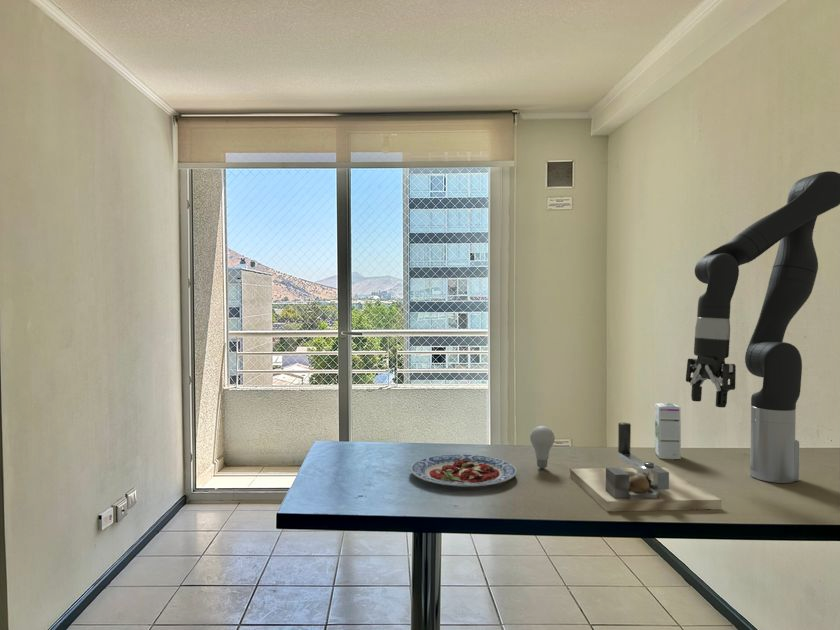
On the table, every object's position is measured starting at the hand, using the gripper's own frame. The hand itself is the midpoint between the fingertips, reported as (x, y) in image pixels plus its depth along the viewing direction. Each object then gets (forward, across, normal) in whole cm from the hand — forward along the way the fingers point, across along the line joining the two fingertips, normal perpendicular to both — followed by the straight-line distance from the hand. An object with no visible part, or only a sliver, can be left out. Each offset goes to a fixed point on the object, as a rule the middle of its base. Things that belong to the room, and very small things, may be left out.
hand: (708, 404), depth 136 cm
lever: (+16, -5, +20) cm, 26 cm away
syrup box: (+18, +20, -4) cm, 27 cm away
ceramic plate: (+22, +12, +57) cm, 62 cm away
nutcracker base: (+19, -6, +21) cm, 29 cm away
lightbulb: (+20, +15, +35) cm, 43 cm away
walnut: (+17, -13, +25) cm, 33 cm away
